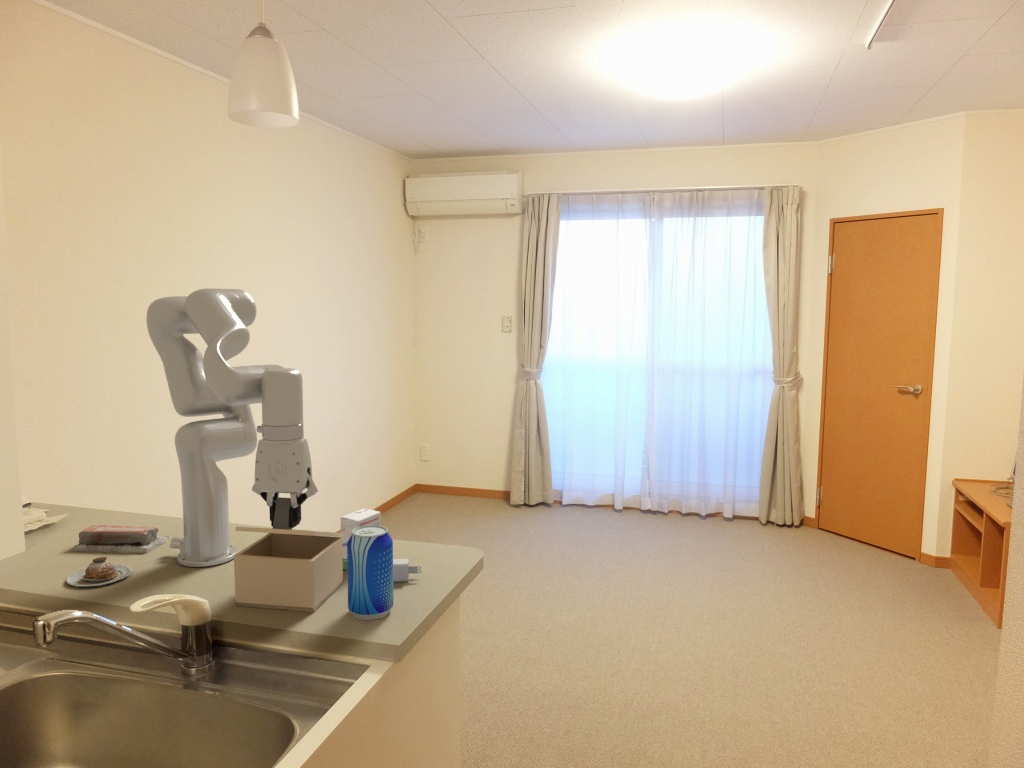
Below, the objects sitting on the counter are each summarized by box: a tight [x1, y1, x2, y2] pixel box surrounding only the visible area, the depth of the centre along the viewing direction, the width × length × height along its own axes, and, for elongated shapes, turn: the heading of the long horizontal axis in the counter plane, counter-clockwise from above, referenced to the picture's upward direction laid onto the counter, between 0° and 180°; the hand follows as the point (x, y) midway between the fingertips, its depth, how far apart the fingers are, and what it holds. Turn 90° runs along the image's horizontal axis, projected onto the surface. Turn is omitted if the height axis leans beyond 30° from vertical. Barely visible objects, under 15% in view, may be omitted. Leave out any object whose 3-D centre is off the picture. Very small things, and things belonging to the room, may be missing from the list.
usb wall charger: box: [393, 558, 422, 583], centre depth 152 cm, size 4×7×4 cm, turn 97°
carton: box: [233, 533, 344, 613], centre depth 143 cm, size 16×14×10 cm
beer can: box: [346, 525, 394, 621], centre depth 135 cm, size 8×8×16 cm
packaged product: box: [73, 524, 170, 554], centre depth 171 cm, size 18×5×10 cm
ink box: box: [340, 508, 382, 571], centre depth 159 cm, size 8×5×12 cm, turn 152°
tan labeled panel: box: [234, 496, 343, 537], centre depth 143 cm, size 16×14×7 cm
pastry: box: [66, 556, 133, 588], centre depth 151 cm, size 12×12×5 cm
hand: (285, 524), depth 140 cm, fingers closed on tan labeled panel, 3 cm apart
